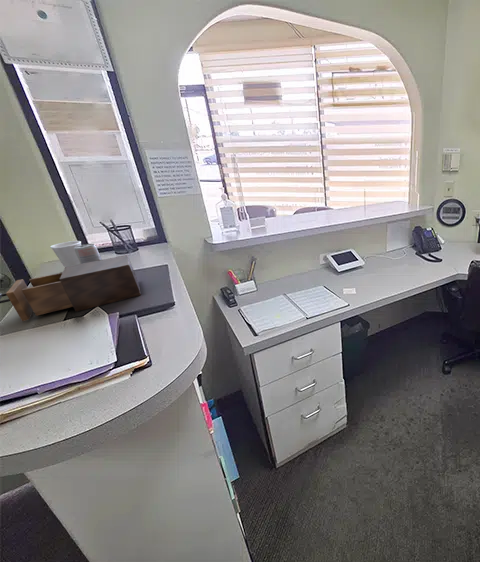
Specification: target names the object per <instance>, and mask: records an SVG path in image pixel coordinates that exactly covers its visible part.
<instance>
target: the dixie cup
mask: <svg viewBox="0 0 480 562" xmlns="http://www.w3.org/2000/svg"><path fill="white" fill-rule="evenodd" d="M80 245H82V241H80V240H71V241H70V240H69V241H64V242H60V243H55V244H53V245H51V246H50V247H49V248H50V249H51V250H52V251H53V252H54V254H55V256H56V257H57V259H58V260H59V261H60V263H61V264H62V265H63V267H64V268H65V267H67V266H73V265H78V264H81V263H80V261H79V259H78V257H77V255H76V253H75V248H74V247H76V246H80Z"/></svg>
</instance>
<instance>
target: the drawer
mask: <svg viewBox="0 0 480 562" xmlns="http://www.w3.org/2000/svg"><path fill="white" fill-rule="evenodd" d="M62 273H63V271H62V272H58V273H53V274H48V275H43V276H39V277H33V278H29V282H30V284H31V287H28V285H27V283H26V282H25V280H24V279H23V278H22V279H17V280H15V282H14V283H13V284H12V285H11V287H10V288H9V289H8V290H7V291H6V292H4V293H1V292H0V304H5V303H9V302H10V303H11V305H12V306H13V308H14V310H15V312H16V313H17V315H18V317H19V318H20V320H21V322H25V321H29V320H30V319H31V316H33V315H32V314H33V313H34V315H35V316H37V317H38V316H42V315H44V314H45V315H46V314H49V313H53V312H57V311H62V310H66V309H69V308H74V307H73V305H72V303H71V301H70V299H69V297H68V295H67V293H66V291H65V289H64V287H63V285H62V283H61V281H60V277H61V275H62ZM4 297H7V298H4ZM2 298H4V299H2Z"/></svg>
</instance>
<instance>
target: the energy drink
mask: <svg viewBox="0 0 480 562" xmlns="http://www.w3.org/2000/svg"><path fill="white" fill-rule="evenodd" d="M74 248H75V253H76V255H77V257H78V259H79V261H80V263H81V264H83V263H88V262H93V261H98V260H103V259H102V257H101V254H100V253H99V250H98V248H97V246H96V245H95V243H86V244H81V245H80V246H76V247H74Z"/></svg>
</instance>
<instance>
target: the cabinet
mask: <svg viewBox="0 0 480 562" xmlns="http://www.w3.org/2000/svg"><path fill="white" fill-rule="evenodd" d="M62 272H63V273H62ZM62 272H61V273H62V275H61V277H60V281H61V283H62V285H63V287H64V289H65V291H66V293H67V295H68V297H69V299H70V301H71V303H72V305H73V307H72V308H73V309H74V312H76V313H77V312H82V311H85V310H88V309H93V308H96V307H101V306H105V305H107V304H112V303H116V302H120V301H123V300H128V299H131V298H136V297H139V296H141V295H142V293H141V288H140V282H139V280H138V277H137V274H136V272H135V270H134V267H133V265H132V263H131V260H130V257H129V255H128V254H126V255H119V256H115V257H108V258H104V259H102V260H98V261H93V262H88V263H83V264H78V265H73V266H67V267H64V268H63V271H62Z"/></svg>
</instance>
